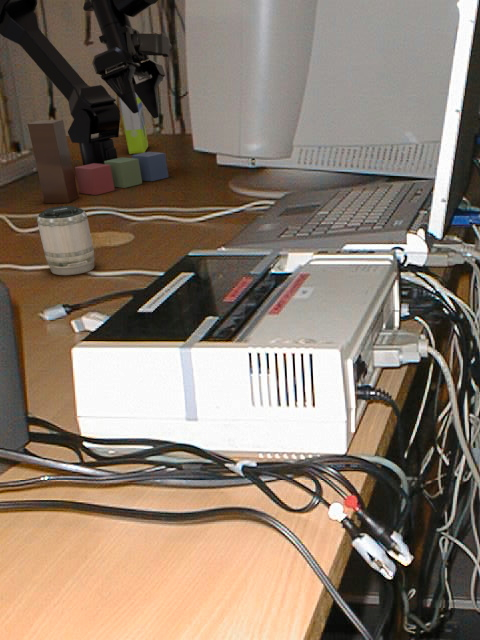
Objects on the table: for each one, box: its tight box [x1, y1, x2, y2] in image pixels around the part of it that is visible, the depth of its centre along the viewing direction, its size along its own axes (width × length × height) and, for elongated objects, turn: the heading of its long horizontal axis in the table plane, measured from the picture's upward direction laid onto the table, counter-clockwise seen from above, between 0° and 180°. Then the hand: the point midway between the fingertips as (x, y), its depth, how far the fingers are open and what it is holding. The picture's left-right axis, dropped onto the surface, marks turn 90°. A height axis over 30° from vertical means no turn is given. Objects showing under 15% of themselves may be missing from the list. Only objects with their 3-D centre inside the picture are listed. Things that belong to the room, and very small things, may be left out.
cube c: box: [74, 163, 115, 196], centre depth 166 cm, size 4×4×4 cm
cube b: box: [104, 156, 143, 189], centre depth 171 cm, size 4×4×4 cm
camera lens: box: [36, 205, 96, 276], centre depth 119 cm, size 6×6×8 cm
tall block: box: [27, 119, 79, 204], centre depth 158 cm, size 5×4×13 cm
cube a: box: [131, 151, 170, 182], centre depth 175 cm, size 4×4×4 cm
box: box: [118, 93, 149, 155], centre depth 203 cm, size 10×4×17 cm, turn 8°
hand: (146, 115), depth 170 cm, fingers open, 9 cm apart
